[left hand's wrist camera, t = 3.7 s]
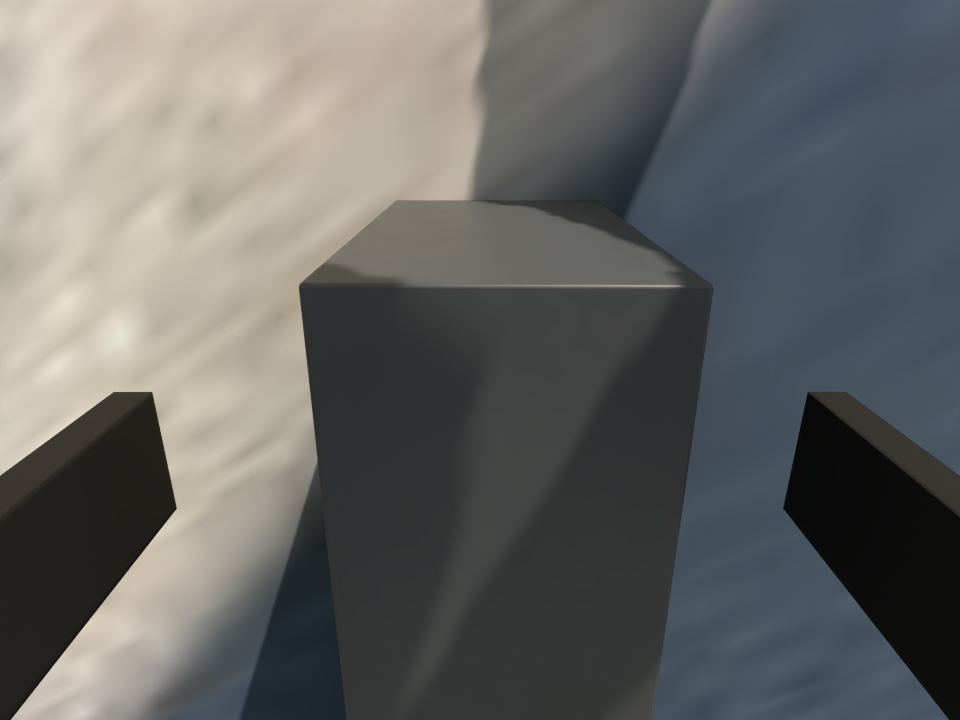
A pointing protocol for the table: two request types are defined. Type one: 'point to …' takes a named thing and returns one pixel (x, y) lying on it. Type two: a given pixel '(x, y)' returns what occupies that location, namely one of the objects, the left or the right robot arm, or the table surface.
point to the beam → (502, 457)
